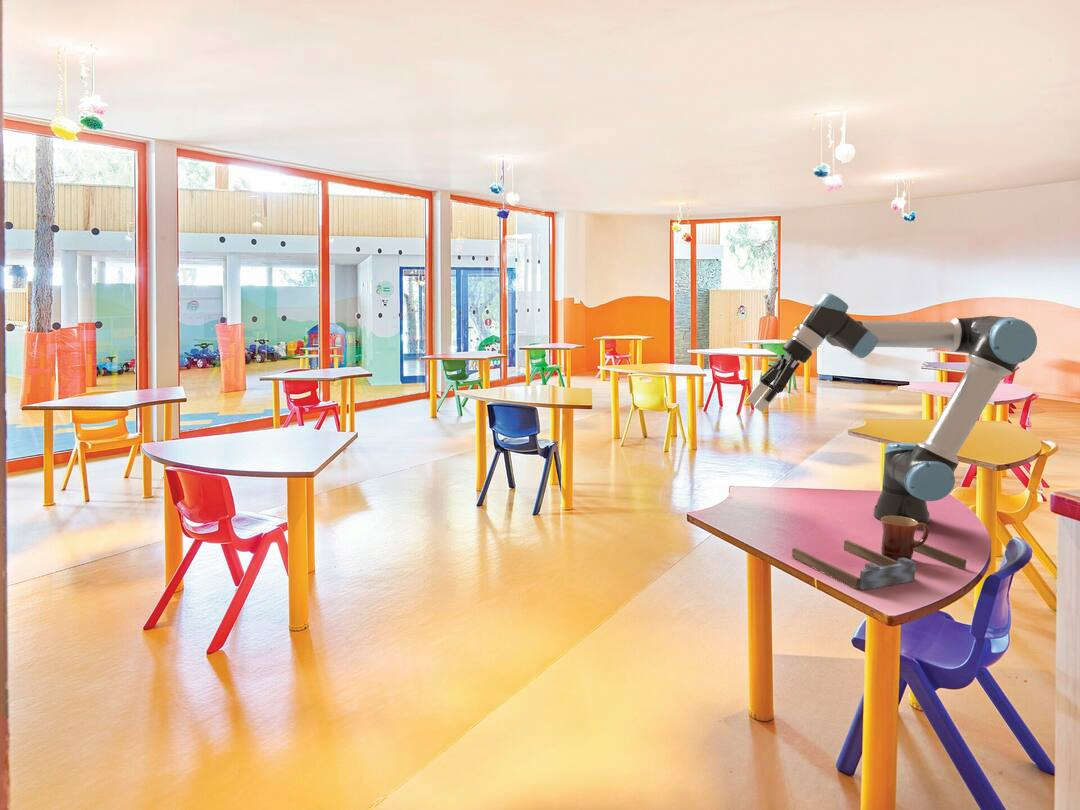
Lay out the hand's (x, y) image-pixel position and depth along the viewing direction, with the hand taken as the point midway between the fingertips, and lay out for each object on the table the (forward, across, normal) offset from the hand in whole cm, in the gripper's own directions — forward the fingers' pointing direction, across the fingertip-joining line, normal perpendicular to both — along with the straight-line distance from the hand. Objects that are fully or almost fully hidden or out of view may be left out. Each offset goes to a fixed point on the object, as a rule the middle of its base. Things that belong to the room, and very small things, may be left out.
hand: (753, 406), depth 219 cm
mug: (+9, +21, +50) cm, 55 cm away
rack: (+13, +25, +43) cm, 52 cm away
